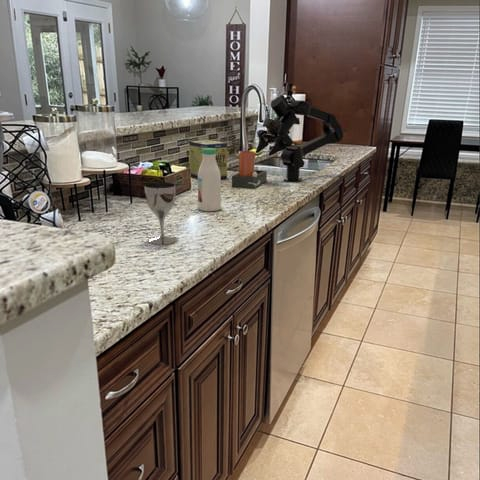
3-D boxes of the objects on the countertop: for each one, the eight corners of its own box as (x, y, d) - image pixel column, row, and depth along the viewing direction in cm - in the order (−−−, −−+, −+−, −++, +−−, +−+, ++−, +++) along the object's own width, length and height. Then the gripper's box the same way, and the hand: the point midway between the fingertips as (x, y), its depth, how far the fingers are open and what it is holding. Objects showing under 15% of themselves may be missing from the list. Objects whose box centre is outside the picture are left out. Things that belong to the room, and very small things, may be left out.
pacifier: (241, 187, 207) (255, 188, 205) (241, 172, 204) (255, 172, 202) (248, 184, 213) (261, 185, 211) (248, 169, 211) (261, 170, 208)
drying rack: (231, 186, 208) (231, 175, 207) (246, 179, 224) (246, 169, 222) (253, 188, 205) (253, 177, 204) (266, 181, 221) (266, 170, 219)
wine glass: (149, 236, 140) (145, 182, 134) (177, 236, 141) (175, 182, 135) (146, 245, 133) (143, 188, 127) (176, 244, 134) (174, 188, 128)
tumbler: (239, 182, 214) (240, 150, 209) (254, 182, 213) (255, 151, 208) (237, 185, 208) (238, 152, 203) (253, 185, 207) (253, 153, 202)
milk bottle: (224, 207, 174) (224, 147, 166) (215, 212, 167) (215, 150, 159) (203, 205, 176) (202, 146, 168) (194, 210, 169) (193, 149, 161)
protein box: (208, 181, 219) (208, 144, 213) (189, 176, 230) (188, 141, 224) (227, 179, 225) (227, 143, 219) (207, 174, 236) (207, 139, 230)
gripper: (261, 109, 213) (239, 138, 212) (288, 112, 199) (265, 142, 198) (275, 128, 220) (253, 156, 219) (302, 132, 206) (280, 161, 205)
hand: (262, 153), depth 210 cm, fingers open, 9 cm apart
